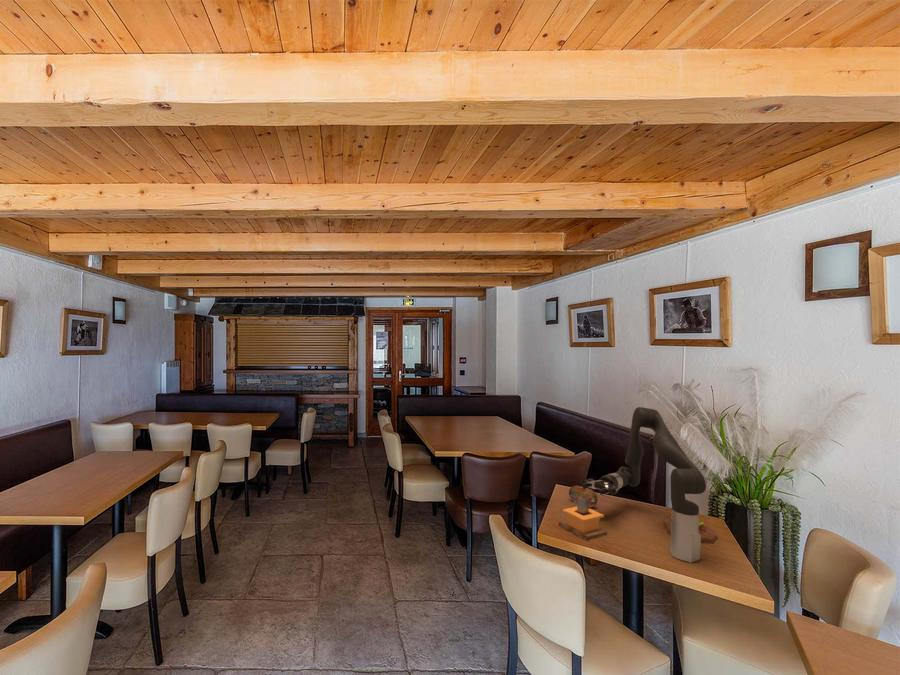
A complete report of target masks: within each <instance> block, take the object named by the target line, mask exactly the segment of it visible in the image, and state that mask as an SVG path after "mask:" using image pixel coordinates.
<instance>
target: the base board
mask: <svg viewBox="0 0 900 675" xmlns="http://www.w3.org/2000/svg"><path fill="white" fill-rule="evenodd" d="M566 520H567V519H565V520H560V521H559V522H558V525H559V526H560V527H562V528H563V529H565V530H567V531H569V532H571V533H573V534H575V535H576V534H577V536H578V535H579V536H578V537H580V536H581V537H580V538H582V537H583V538H582V539H584V538H585V539H584V540H586V539H587V540H586V541H589V540H588V539H590V540H592V538H593V539H596V538H595V537H597V538H600V537H603V535H604V536H607V535H608V530H606V529H604V528H602V527H600V526H599V529H596V530H592V531H588V532H585V533H583V532H581V531H579V530H577V529H575V528H573V527H571V526H569V525H567V524H566ZM599 536H600V537H599Z"/></svg>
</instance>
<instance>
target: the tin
mask: <svg viewBox="0 0 900 675" xmlns="http://www.w3.org/2000/svg"><path fill="white" fill-rule="evenodd" d="M568 496H569V498H570V500H571V501H572V502H573V503H574V502H575V503H574V504H577V499H578V498H579V497H581V496H583V497H586V498H589V507H590V508H593V507H596V506H597V504H598V500H599V499H598V498H599V497H598V495H597V493H596V492H595V491H594V489H591V488H587V489H583V486H579V485H572V486H571V487H570V488H569V491H568Z"/></svg>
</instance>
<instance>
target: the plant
mask: <svg viewBox="0 0 900 675" xmlns="http://www.w3.org/2000/svg"><path fill="white" fill-rule="evenodd" d="M663 526H664V528H665V529H666V531H667V532H666V533H667V534H669V535H670V536H671V518H665V519H664V520H663ZM698 533H699V534H701V543H702V544H714V542H715V541H717V540H718V539H717V538H718V535H717V532H716V530H715V529H712V528H711V527H710V526H709V525H708V524H705V523H704V522H700V521H699V528H698Z"/></svg>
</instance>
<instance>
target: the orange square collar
mask: <svg viewBox="0 0 900 675" xmlns="http://www.w3.org/2000/svg"><path fill="white" fill-rule="evenodd" d="M562 512H563V513H565V514H566V519H565V520H566V524H567V525H569V526H571V527H573V528H575V529H577V530H579V531H581V532H583V533H585V532H588V531H592V530H596V529H599V527H600V520H601V518H605V515H604V514H602V513H601V512H598V511H596V510H593V509H591V507H590V508H589V515H585V516H583V515H581V514H579V513H577V506H573V507H567V508H564V509H562Z"/></svg>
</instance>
